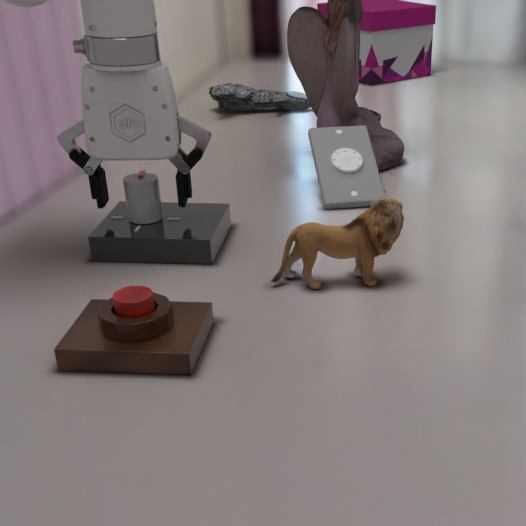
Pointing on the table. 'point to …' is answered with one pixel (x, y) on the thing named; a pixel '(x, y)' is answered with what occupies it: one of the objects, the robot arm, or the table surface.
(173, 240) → the dark grey dial base
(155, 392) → the table surface
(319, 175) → the light switch
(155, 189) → the knob
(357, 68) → the figurine
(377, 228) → the lion figurine
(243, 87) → the jagged slate chunk
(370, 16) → the decorative box
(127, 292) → the button
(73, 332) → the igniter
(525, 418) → the table surface
